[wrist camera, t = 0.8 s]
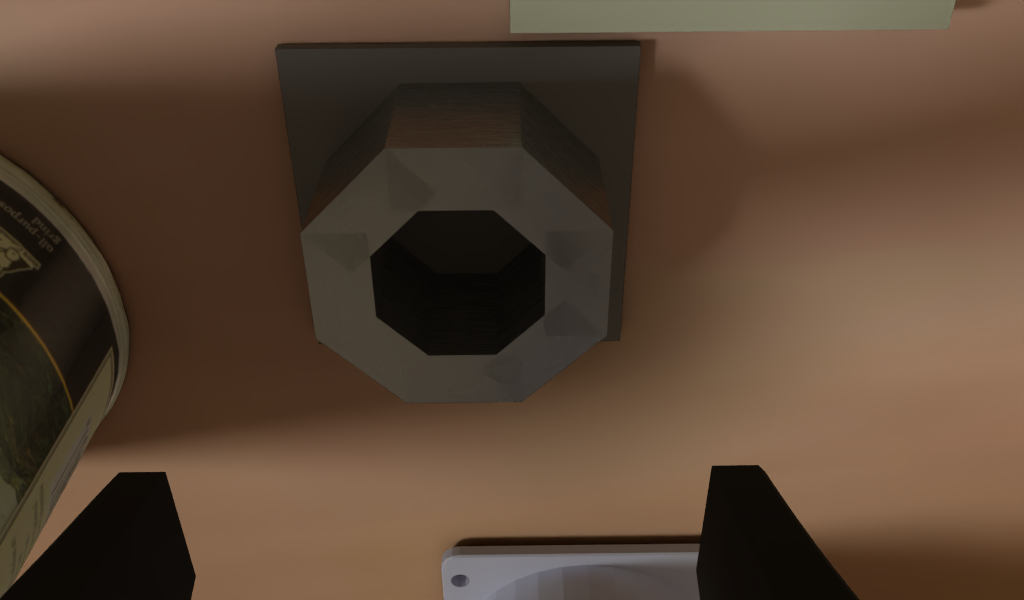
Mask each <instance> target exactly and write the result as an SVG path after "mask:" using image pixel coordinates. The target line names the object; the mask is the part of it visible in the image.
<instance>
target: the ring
mask: <svg viewBox="0 0 1024 600" xmlns="http://www.w3.org/2000/svg"><path fill="white" fill-rule="evenodd" d="M452 210H494V211H495V212H496V213H497V214H499V215H500V216H501V217H502V218H503V219H504V220H506V221H507V222H508V223H509V224H510V225H511V226H513V227H514V228H515V229H516V230H517V231H518V232H520V233H521V234H522V235H523V236H524V237H525V238H527V239H528V240H529V241H530V242H531V244H530V245H528V246H527V247H526V248H525V249H524V250H523V251H521V252H520V253H519V254H518V255H517V256H516V257H515V258H513V259H512V260H511V261H510V262H509V263H508V264H507V265H505V266H504V267H503V268H502V269H501V270H500V271H498V272H497V273H438V274H437V273H436V272H434V271H433V270H432V269H431V268H429V267H428V266H427V265H426V264H424V263H423V262H422V261H421V260H419V259H418V258H417V257H416V256H414V255H413V254H412V253H411V252H409V251H408V250H407V249H406V248H404V247H403V246H402V245H400V244H399V243H398V242H397V241H395V240H394V239H393V238H392V237H391V236H392V235H393V234H394V233H395V232H396V231H397V230H399V229H400V228H401V227H402V226H403V225H404V224H405V223H406V222H407V221H408V220H409V219H410V218H411V217H412V216H413V215H414V214H415V213H416V212H417V211H452ZM300 237H301V243H302V250H303V256H304V263H305V270H306V276H307V283H308V289H309V296H310V303H311V309H312V316H313V323H314V329H315V336H316V339H317V340H319V341H320V342H321V343H323V344H324V345H326V346H327V347H328V348H330V349H331V350H333V351H334V352H336V353H337V354H338V355H340V356H341V357H343V358H344V359H345V360H347V361H348V362H350V363H351V364H352V365H354V366H355V367H357V368H358V369H359V370H361V371H362V372H364V373H365V374H367V375H368V376H369V377H371V378H372V379H374V380H375V381H376V382H378V383H379V384H381V385H382V386H383V387H385V388H386V389H388V390H389V391H391V392H392V393H393V394H395V395H396V396H398V397H399V398H400V399H402V400H403V401H405V402H406V403H471V402H522V401H524V400H525V399H526V398H527V397H529V396H530V395H531V394H533V393H534V392H535V391H536V390H538V389H539V388H540V387H542V386H543V385H544V384H545V383H547V382H548V381H549V380H551V379H552V378H553V377H554V376H556V375H557V374H558V373H559V372H561V371H562V370H563V369H565V368H566V367H567V366H568V365H570V364H571V363H572V362H574V361H575V360H576V359H577V358H579V357H580V356H581V355H583V354H584V353H585V352H586V351H588V350H589V349H590V348H591V347H593V346H594V345H595V344H597V343H598V342H599V341H600V340H602V339H603V338H604V337H606V336H607V324H608V308H609V292H610V276H611V259H612V243H613V227H612V222H611V217H610V211H609V206H608V201H607V196H606V191H605V186H604V181H603V176H602V171H601V166H600V161H599V158H598V157H597V156H596V155H595V154H594V153H593V152H592V151H591V150H590V149H589V148H588V147H587V146H586V145H585V144H583V143H582V142H581V141H580V140H579V139H578V138H577V137H576V136H575V135H574V134H573V133H572V132H571V131H570V130H569V129H568V128H567V127H566V126H564V125H563V124H562V123H561V122H560V121H559V120H558V119H557V118H556V117H555V116H554V115H553V114H552V113H551V112H550V111H549V110H548V109H547V108H545V107H544V106H543V105H542V104H541V103H540V102H539V101H538V100H537V99H536V98H535V97H534V96H533V95H532V94H531V93H530V92H529V91H528V90H526V89H525V88H524V87H523V86H522V85H521V84H520V83H519V82H497V83H400V84H399V85H398V86H397V87H396V88H395V89H394V90H393V91H392V92H391V93H390V95H389V96H388V97H387V98H386V99H385V100H384V101H383V102H382V103H381V104H380V105H379V106H378V107H377V108H376V109H375V110H374V111H373V112H372V113H371V114H370V115H369V116H368V117H367V119H366V120H365V121H364V122H363V123H362V124H361V125H360V126H359V127H358V128H357V129H356V130H355V131H354V132H353V133H352V134H351V135H350V136H349V137H348V138H347V139H346V140H345V141H344V142H343V144H342V145H341V146H340V147H339V148H338V149H337V150H336V151H335V152H334V153H333V154H332V155H331V156H330V157H329V158H328V159H327V160H326V162H325V165H324V168H323V171H322V173H321V176H320V179H319V182H318V185H317V187H316V190H315V193H314V196H313V199H312V202H311V204H310V207H309V210H308V213H307V216H306V218H305V221H304V224H303V227H302V230H301V232H300Z"/></svg>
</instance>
